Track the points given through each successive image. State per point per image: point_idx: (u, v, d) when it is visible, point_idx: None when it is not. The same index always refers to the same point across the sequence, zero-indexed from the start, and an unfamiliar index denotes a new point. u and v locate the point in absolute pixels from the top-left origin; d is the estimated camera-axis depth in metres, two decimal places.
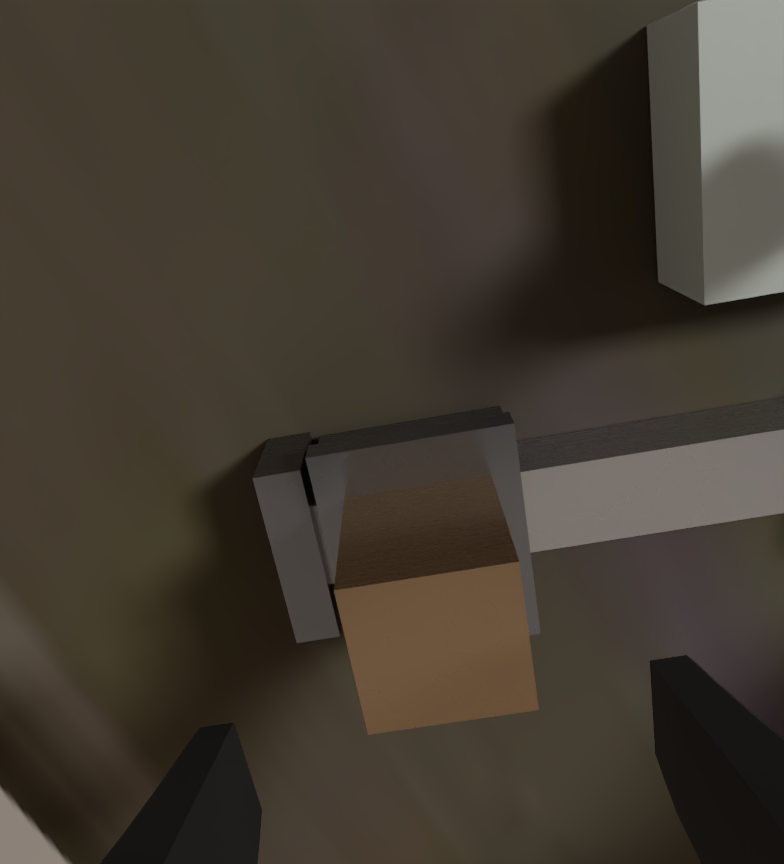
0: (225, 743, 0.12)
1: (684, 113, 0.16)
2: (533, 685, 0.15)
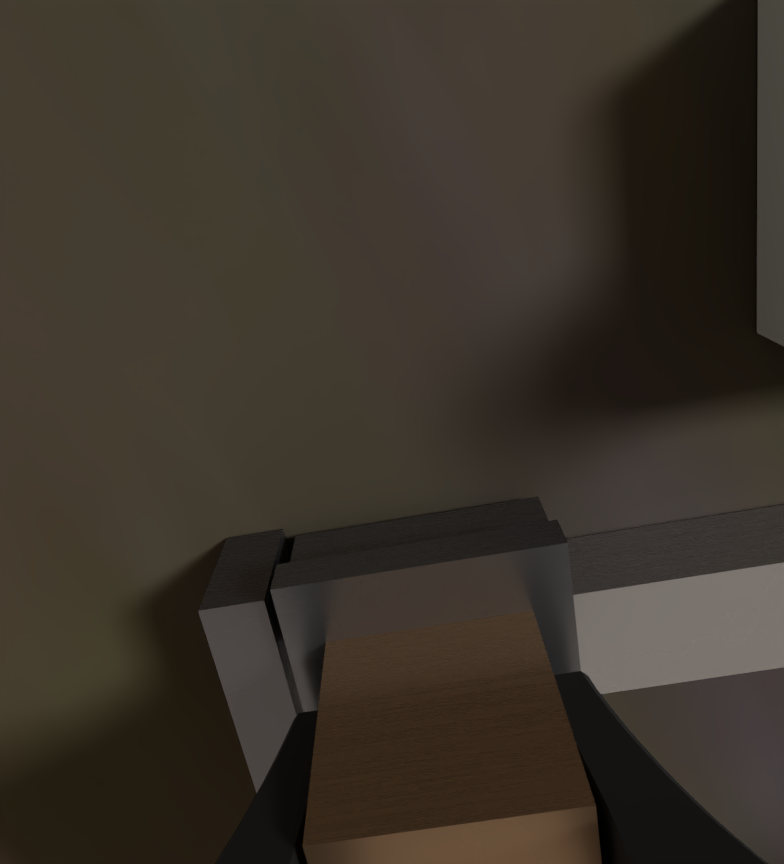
0: None
1: None
2: None
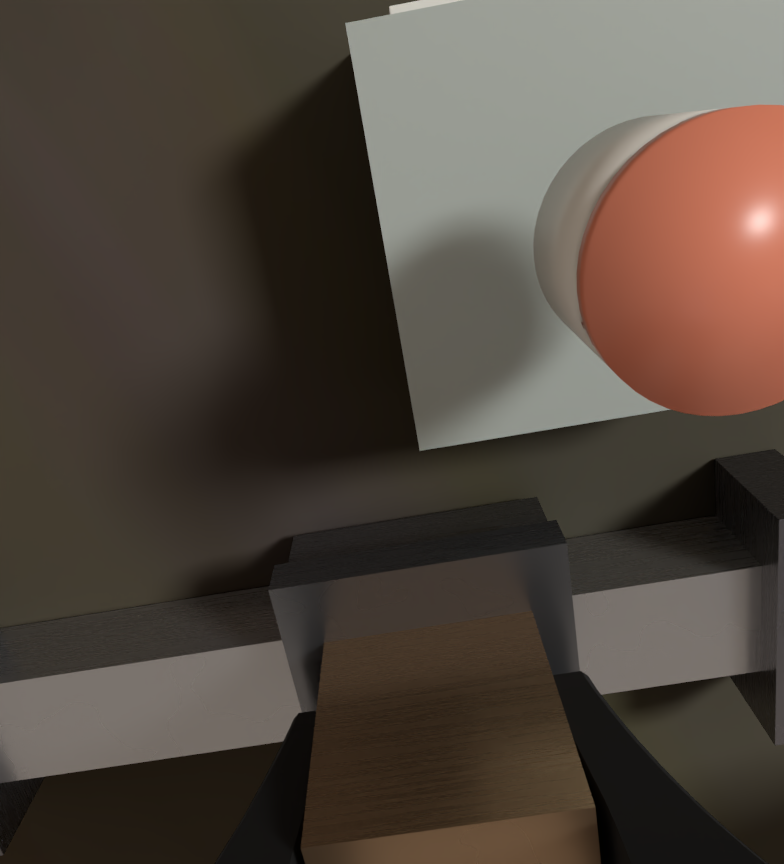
0: None
1: None
2: None
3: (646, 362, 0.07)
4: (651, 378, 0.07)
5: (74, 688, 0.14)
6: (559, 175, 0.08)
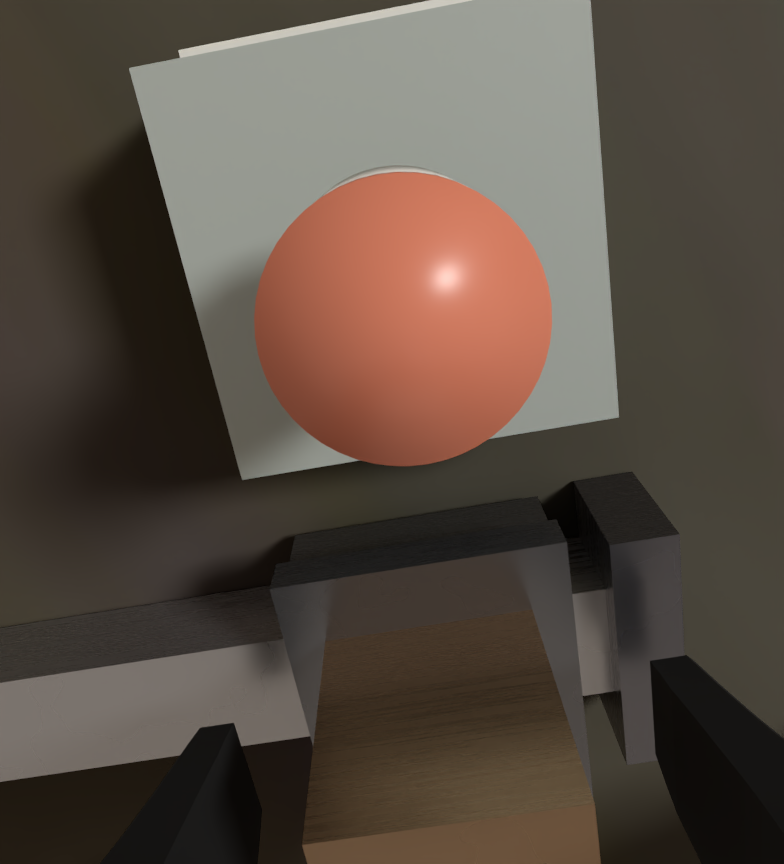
0: (225, 743, 0.12)
1: None
2: None
3: (327, 415, 0.07)
4: (334, 430, 0.07)
5: None
6: None
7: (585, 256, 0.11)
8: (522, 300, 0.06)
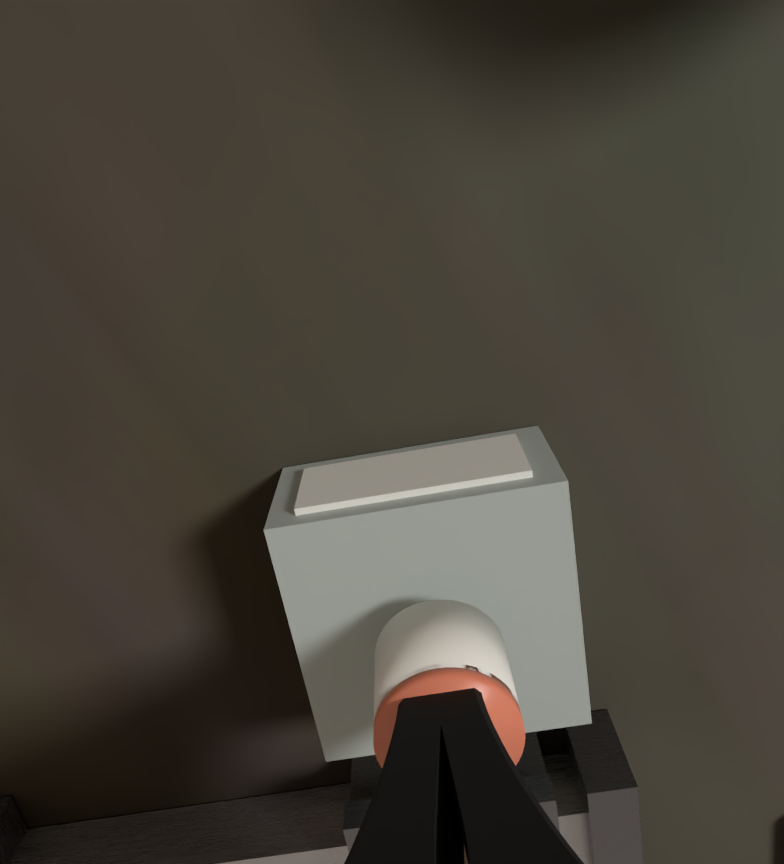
0: (440, 711, 0.12)
1: None
2: None
3: None
4: None
5: None
6: (384, 631, 0.14)
7: (567, 630, 0.16)
8: (510, 728, 0.13)
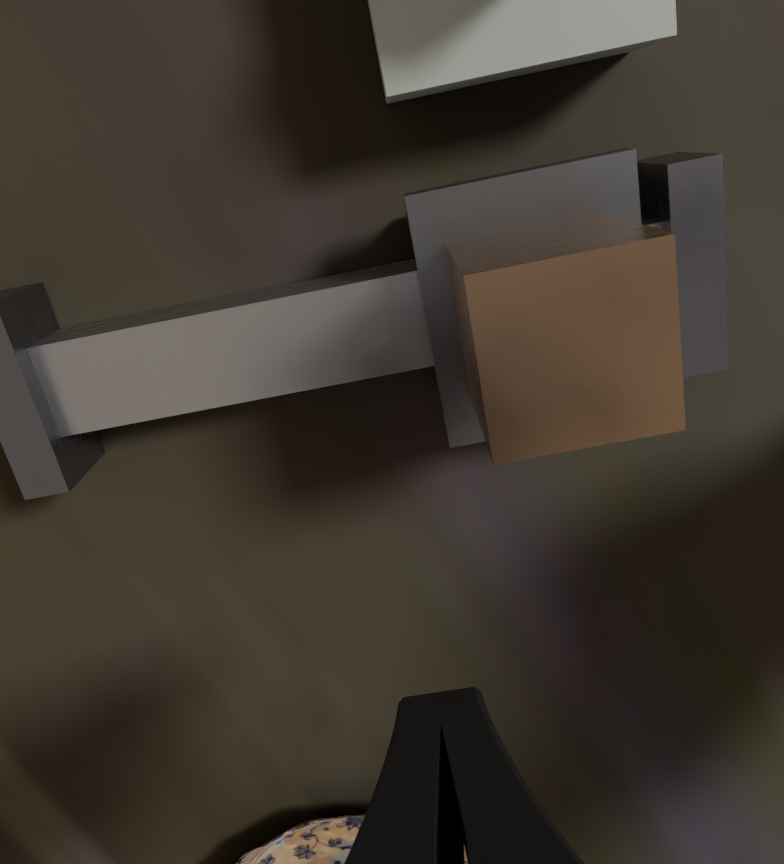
0: (440, 711, 0.12)
1: None
2: (681, 398, 0.14)
3: None
4: None
5: (124, 344, 0.18)
6: None
7: None
8: None
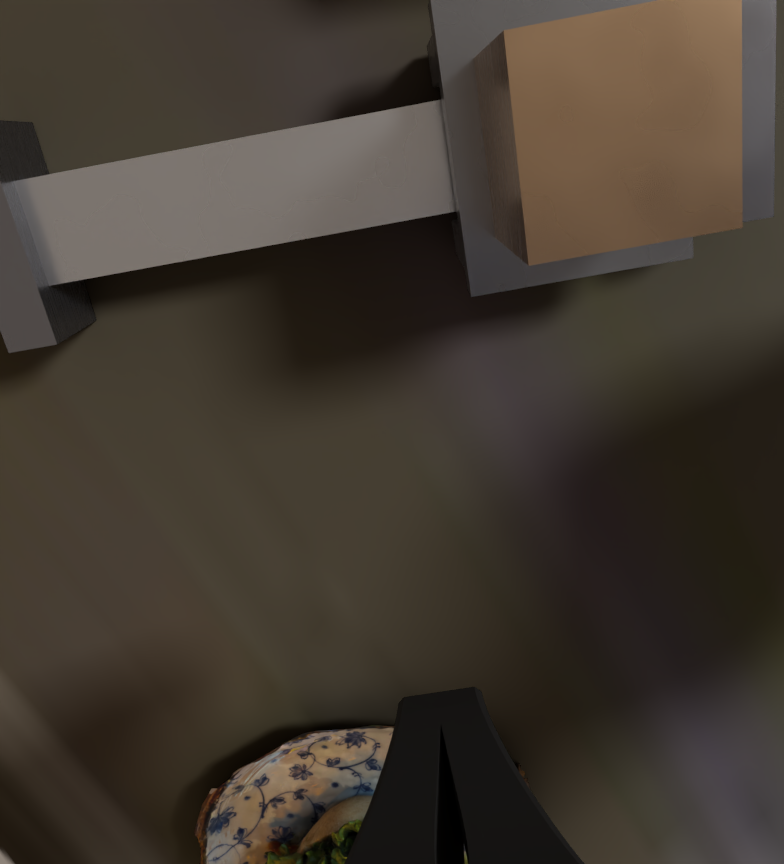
0: (440, 711, 0.12)
1: None
2: (739, 189, 0.12)
3: None
4: None
5: (119, 179, 0.17)
6: None
7: None
8: None
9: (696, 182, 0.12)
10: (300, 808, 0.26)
